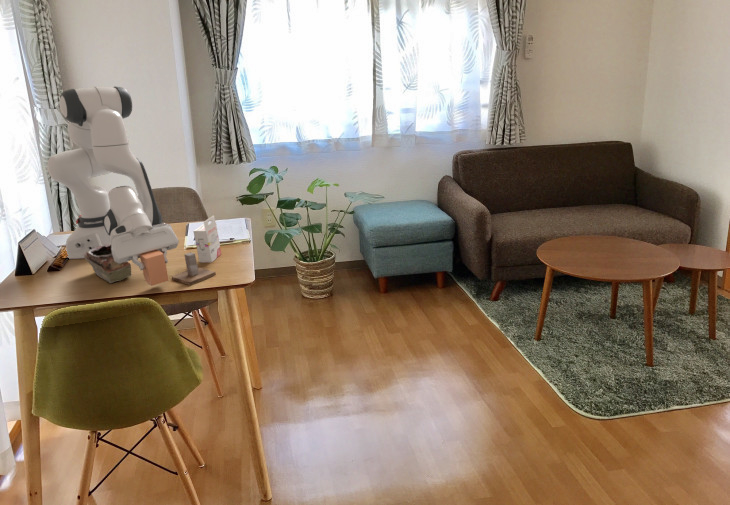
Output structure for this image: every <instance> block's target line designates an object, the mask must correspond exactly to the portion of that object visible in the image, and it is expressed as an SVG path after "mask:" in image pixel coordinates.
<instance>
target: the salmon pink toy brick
mask: <svg viewBox="0 0 730 505" xmlns="http://www.w3.org/2000/svg"><path fill="white" fill-rule="evenodd" d="M139 259H140V262H141V263H143V262H144V264H145V266H146V269H144V270H142V274H143V278H144V282H146V283H147V284H148V285H150V286H156V285H158V284H162V283H165V282H169V275H168V270H167V263H165V258H164V254H163V253H162V252H160V251H159V250H154V251H150V252H146V253H142V254H140V258H139Z"/></svg>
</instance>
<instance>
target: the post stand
mask: <svg viewBox="0 0 730 505" xmlns="http://www.w3.org/2000/svg"><path fill="white" fill-rule="evenodd" d="M183 256H184V259H185V260H184V261H185V265H186V266H185V267H186V270H185V271H182V272H180V273H177V274H174V275H171V280H173V281H176V282H179V283H182V284H186V285H188V286H192V285H194V284H196V283H199V282H202V281H204V280H207V279H209V278H211V277H214V276H216V274H217V273H216V271H213V270H210V269H206V268H203V267H200V266H198V262H197V257H196V253H195V252H188V253H185V254H183Z"/></svg>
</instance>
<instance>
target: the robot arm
mask: <svg viewBox="0 0 730 505" xmlns="http://www.w3.org/2000/svg"><path fill="white" fill-rule="evenodd" d="M59 96H60V97H59V110H60V112H61V114H62V116H63V118H64V119H65V120H67V122H68V123H69V126H68V130H69V131H68V136H69V139H70V140H71V142H73V144H74V145H76V146H78V147H80V148H75V149H70V150H66V151H61V152H58V153H56V154H54V155H51V156H49V158H48V160H47V165H46V169H47V172H48V174H49V176H50V178H52V180H53V181H55V182H57V183H59V184H61V185H64V186H65V187H66V188H67V189H69V191H71V193H72V194H73V196H74V198H75V200H76V203H77V206H78V209H79V212H80V213H79V214H80V215H79V216H78V218H76V220H75V224H76V225H78V227H77V228H76V229H74V231H73V232H72V233H70V235H69V236H68V237H67V239H66V241H65V250H66V251H67V254H68V256H67V257H68V258H69V260H73V259H75V260H76V259H85V257H84V254H85V253H86V252H88V251H90V250H91V249H93V248H96V247H100V246H103V245H110V244H111V252H112V255H113V258H114V261H115V262H116V263H123V262H130V261H132V263H133V264H134V265H136V266H137V267H139V269H140V271H143V270H144V269H146V266H145V264H144V262H143V263H141V260H139V259H140V254H142V253H146V252H150V251H154V250H159V251H160V252H162V253H163V254H164V258H165V263H166V264H168V262H169V259H168V258H167V253H168V251H170V250H174V249H177V247H178V245H179V242H180V241H179V238H178V237H177V235H176V232H174V229H173V226H172V225H171V224H169V223H166V222H163V215H162V212H161V210H160V209H159V206H158V203H157V201H156V198H155V195H154V192H153V189H152V186H151V183H150V180H149V177H148V173H147V171H146V168H145V165H144V163H143V162H142V161H141V159H140V158H138V157H136V156H135V155H134V153H133V152H132V150H131V146H130V141H129V136H128V131H127V128H126V125H125V124H126V123H125V122H124V119H126V118H128V117H129V116H130V115H131V113H132V112H133V100H132V97H131V95H130V92H129V91H128V90H127V88H124V87H121V86H93V87H84V88H83V87H82V88H76V89H74V88H71V89H67V90H64V91H63V90H62V93H61V94H60V95H59ZM110 173H112V174H117V175H123V176H125V177H128V178H130V180H132V182H133V184H134V185H135V189H136V192H135V190H134V188H132V187H131V186H129V185H121V186H120V185H119V186H116V187H114V188H112V189H111V190H109V191H107V189H105V188H103V187H100V186H97V185H92V183H91V181H90V179H91V178H97V177H99V176H101V177H102V176H104V175H105V176H106V175H109V174H110Z"/></svg>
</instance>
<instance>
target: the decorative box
mask: <svg viewBox="0 0 730 505" xmlns="http://www.w3.org/2000/svg"><path fill="white" fill-rule="evenodd" d="M84 257H85V258H84V259H85V261H86V262H87V263H88V264H89V265H90V266H91V267H92V269H93V271H94V273H95V275H96V276H97V277H100V278H101V279H103V280H104V281H106V282H107V283H109V284H113V283H115V282H121V280H122V281H123V280H124V279H126V278H128V277H131V276H132V265H131V263H130V262H129V261H127V262H123V263H116V262H115V261H114V258H113V255H112V252H111V244H110V245H103V246H100V247H96V248H93V249H91V250H90V251H88V252H86V253H85V254H84Z"/></svg>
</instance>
